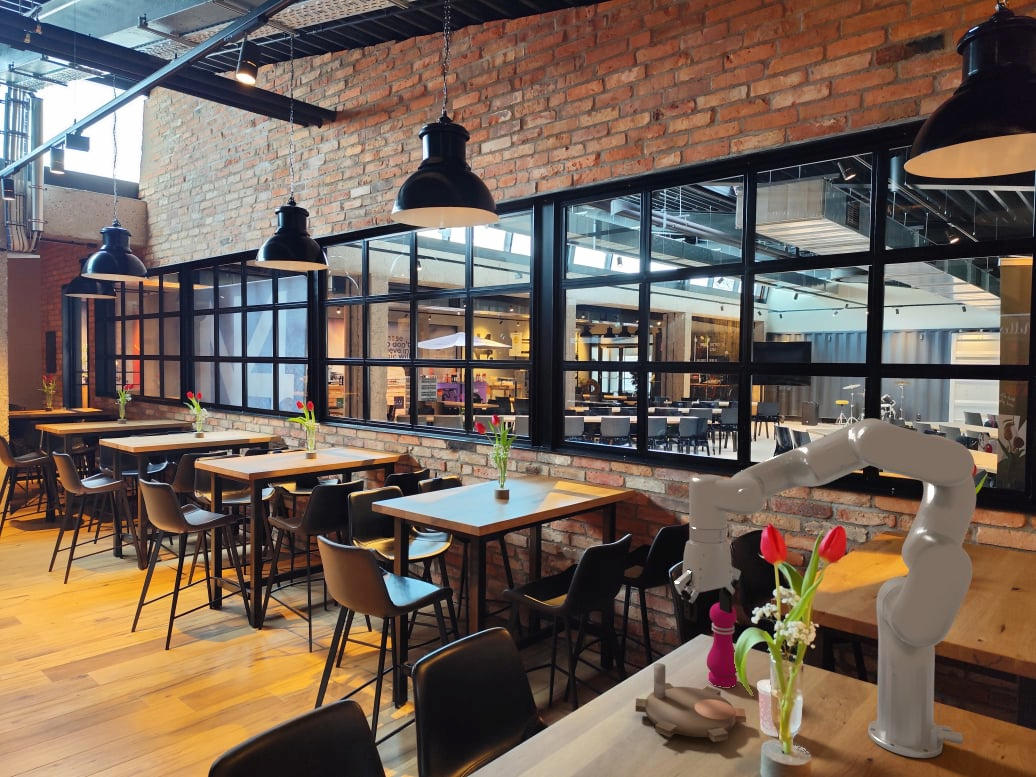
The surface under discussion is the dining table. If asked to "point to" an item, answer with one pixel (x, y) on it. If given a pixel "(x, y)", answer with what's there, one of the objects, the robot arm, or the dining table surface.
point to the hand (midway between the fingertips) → (708, 615)
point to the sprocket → (688, 710)
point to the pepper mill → (722, 648)
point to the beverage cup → (765, 708)
